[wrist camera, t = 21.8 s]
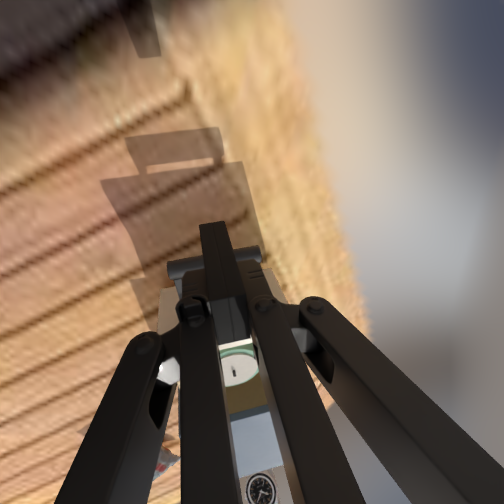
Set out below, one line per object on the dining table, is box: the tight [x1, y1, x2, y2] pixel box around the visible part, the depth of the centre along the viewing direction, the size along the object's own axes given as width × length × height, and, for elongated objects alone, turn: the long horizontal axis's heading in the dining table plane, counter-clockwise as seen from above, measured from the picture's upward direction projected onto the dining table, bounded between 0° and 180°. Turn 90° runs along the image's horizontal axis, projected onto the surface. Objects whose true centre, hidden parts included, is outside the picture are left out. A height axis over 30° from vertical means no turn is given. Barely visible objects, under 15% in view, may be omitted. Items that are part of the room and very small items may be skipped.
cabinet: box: [178, 387, 284, 478], centre depth 35 cm, size 15×13×10 cm
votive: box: [219, 343, 259, 387], centre depth 28 cm, size 6×6×6 cm
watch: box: [244, 468, 280, 504], centre depth 46 cm, size 6×8×11 cm
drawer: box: [157, 245, 288, 414], centre depth 27 cm, size 20×11×8 cm, turn 4°
